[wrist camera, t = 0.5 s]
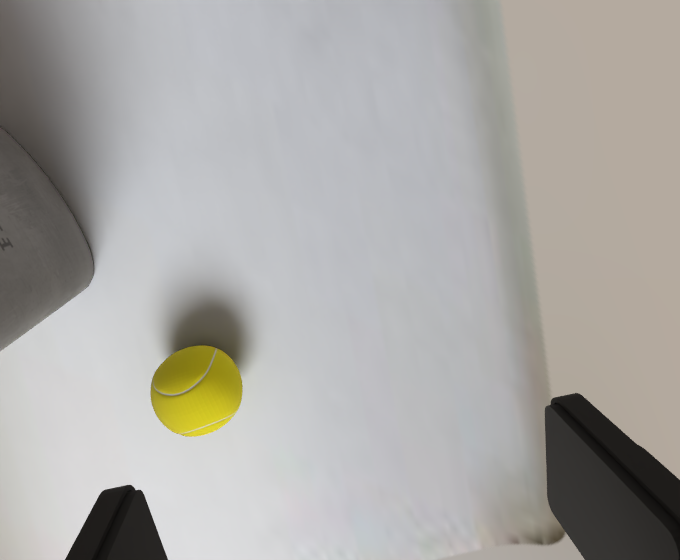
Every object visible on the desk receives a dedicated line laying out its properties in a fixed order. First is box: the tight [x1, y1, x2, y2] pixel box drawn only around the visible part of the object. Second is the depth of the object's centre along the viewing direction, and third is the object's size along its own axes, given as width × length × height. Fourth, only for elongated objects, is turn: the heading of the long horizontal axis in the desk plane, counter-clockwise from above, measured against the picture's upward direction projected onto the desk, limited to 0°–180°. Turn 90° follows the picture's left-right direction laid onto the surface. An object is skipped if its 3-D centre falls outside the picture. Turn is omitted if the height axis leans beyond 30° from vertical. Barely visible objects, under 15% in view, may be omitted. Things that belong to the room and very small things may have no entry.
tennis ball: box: [151, 345, 242, 436], centre depth 38 cm, size 7×7×7 cm
